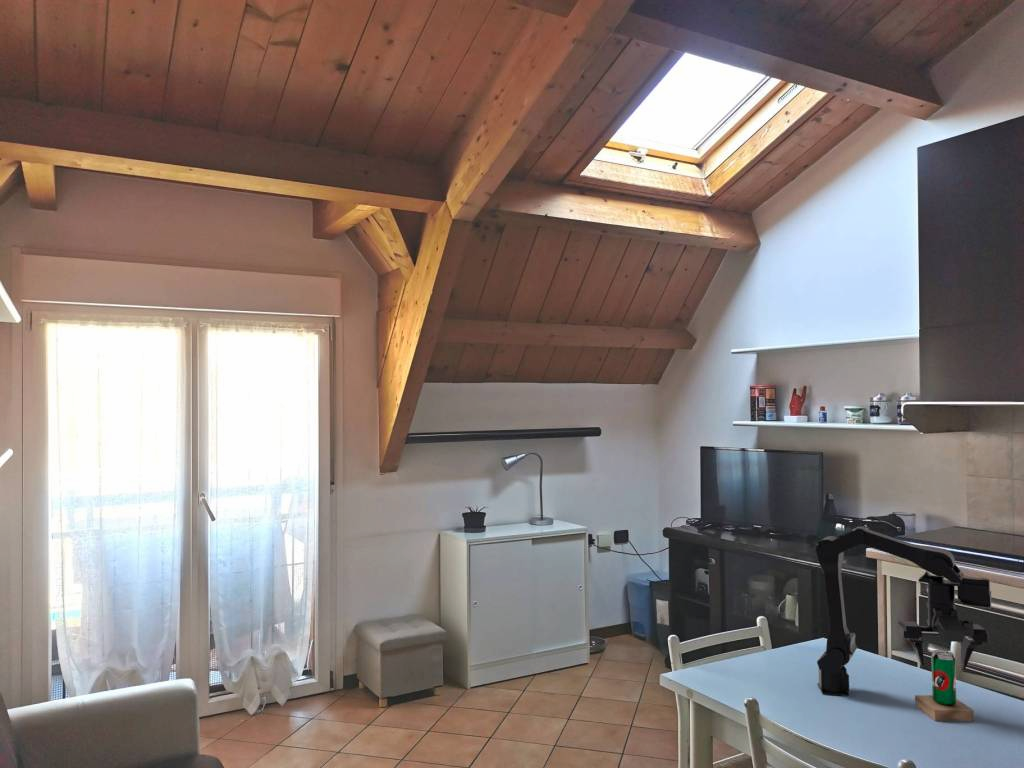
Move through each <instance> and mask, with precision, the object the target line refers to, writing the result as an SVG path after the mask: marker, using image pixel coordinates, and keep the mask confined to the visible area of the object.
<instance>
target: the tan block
mask: <svg viewBox="0 0 1024 768" xmlns="http://www.w3.org/2000/svg"><path fill="white" fill-rule="evenodd" d="M914 706H915V707H916V708H918V709H919V710H920V711H922V712H923V713H924V714H926V715H927V716H928V717H929V718H931V719H932V720H933V721H934V722H952V721H953V722H974V719H975V718H974V717H975V716H974V715H975V713H974V709H972V708H971V707H970V706H968V705H967V704H965V703H964V702H962V701H961V700H959V699H958V698H956V704H955V705H953V706H944V705H940V704H937V703H936V702H935V701H934V700H933V699H932V694H931V695H929V694H925V695H923V694H921V695H920V694H918V695H917V694H916V695H914Z"/></svg>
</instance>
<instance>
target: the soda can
mask: <svg viewBox="0 0 1024 768" xmlns="http://www.w3.org/2000/svg"><path fill="white" fill-rule="evenodd" d="M954 655H955V654H954V652H953V651H949V650H944V649H934V650H933V651H932V654H931V658H930V659H931V695H932V699H933V700H934V701H935V702H936V703H937V704H940V705H944V706H953V705H955V704H956V699H957V671H956V669H957V664H956V663H957V661H956V660H957V659H956V657H955V656H954Z"/></svg>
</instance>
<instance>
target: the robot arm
mask: <svg viewBox="0 0 1024 768" xmlns="http://www.w3.org/2000/svg"><path fill="white" fill-rule="evenodd" d="M859 545H863V546H865V547H869V548H872V549H874V550H876V551H877V550H878V551H880V552H883V553H887V554H889V555H892V556H895V557H898V558H901V559H903V560H906V561H909V562H912V563H913V564H915V565H916V566H917V567H919V568H920V569H922V570H925V572H924V573H923V575H921V576H920V577H919V578H918V582H919V583H925V584H926V583H927V602H926V607H927V615H928V618H927V619H926V624H927V625H919V623H917V622H916V621H913V620H912V621H911V620H910V621H909V620H899V621H898V622H897V624H896V632H897V633H898V634H899V635H900V636H902V638H904V639H906V640H907V641H909V642H910V643H911V645H912V648H913V649H914V652H915V654H916V658H917V661H918V662H919V665H920V666H921V667H924V666H925V659H924V649H923V644H924V640H923V639H922V638H921V637H922V636H923V635H929V636H930V635H933V636H934V635H935V636H939V637H940V640H941V641H943V642H945V643H950V642H953V643H955V642H957V643H959V644H960V663H961V668H962V669H963V670H965V669H966V668H967V666H968V664H969V661H970V659H971V656H972V654H973V652H974V650H975V649H976V648H977V647H979V646H983V645H984V643H990V634H989V631H988V630H986V628H984V627H983V626H981V625H980V624H976V623H973V622H972V620H971V619H969V620H967V619H959V616H958V609H956V591H955V590H956V589H955V587H957V600H958V601H959V602H960V603H962V605H963V606H968V607H976V608H983V609H992V590H991V584H990V578H987V577H971V576H965V574H964V573H963V571H962V570H961V569H960V568H959V567H958V565H957V564H956V560H955V556H954V555H953V554H952V552H951V551H950V550H947V549H946V548H941V547H936V546H930V545H929V546H928V545H919V544H914V543H912V542H911V543H910V542H907V541H904V540H902V539H898V538H896V537H892V536H889V535H887V534H883V533H881V532H877V531H874V530H872V529H868V528H867V527H865V526H856V527H855V528H853V529H852V530H850V531H847V532H844V533H843V534H840V535H838V536H834V535H828V536H826V537H824V538H823V539H821V540H819V542H817V543H816V546H815V553H816V558H817V560H818V564H819V566H820V569H821V571H822V573H823V579H824V581H823V582H824V587H825V588H824V589H825V599H826V609H827V618H828V632H827V633H828V634H827V639H826V645H825V646H826V648H825V649H826V650H825V651H824V652H823V653H822V655H821V656H820V657H819V659H817V661H816V663H817V666H818V682H817V686H818V689H819V691H820V692H821V694H822V695H830V696H831V695H832V696H849V695H850V693H849V691H850V675H849V673H848V672H847V671H848V670H847V668H846V665H847V664H848V663H849V662H850V660H851V659H852V658H853V656H854V654H855V652H856V650H857V649H858V646H857V644H856V633H855V632H850V631H849V628H848V626H847V618H846V610H845V599H844V590H843V579H842V568H843V561H844V557H845V555H844V553H845V552H847V551H848V550H850V549H852V548H854V547H857V546H859Z"/></svg>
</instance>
